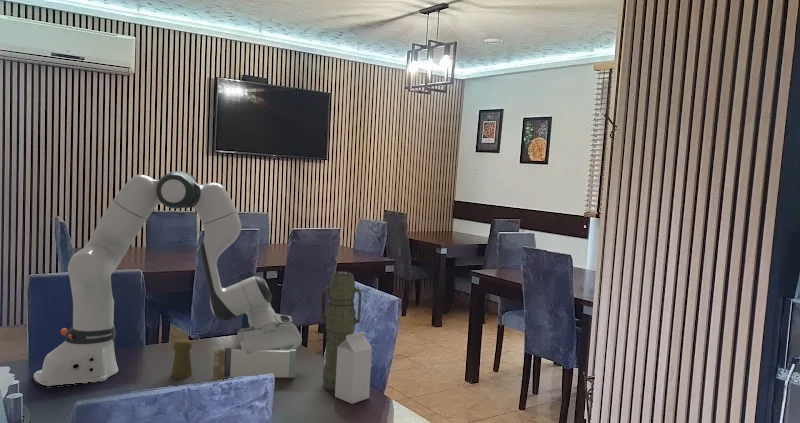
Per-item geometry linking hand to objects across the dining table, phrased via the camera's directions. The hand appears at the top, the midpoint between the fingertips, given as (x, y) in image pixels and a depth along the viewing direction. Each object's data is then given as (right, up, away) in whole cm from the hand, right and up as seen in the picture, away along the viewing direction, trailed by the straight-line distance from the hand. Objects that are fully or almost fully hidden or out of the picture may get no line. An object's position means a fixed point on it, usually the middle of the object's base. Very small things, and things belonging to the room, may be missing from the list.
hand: (279, 363), depth 195 cm
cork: (-29, -3, -3) cm, 30 cm away
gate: (-6, -3, -3) cm, 7 cm away
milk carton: (+24, -7, -14) cm, 28 cm away
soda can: (-17, -1, +31) cm, 35 cm away
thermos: (+18, -6, -5) cm, 20 cm away
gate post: (-17, -4, -6) cm, 19 cm away
